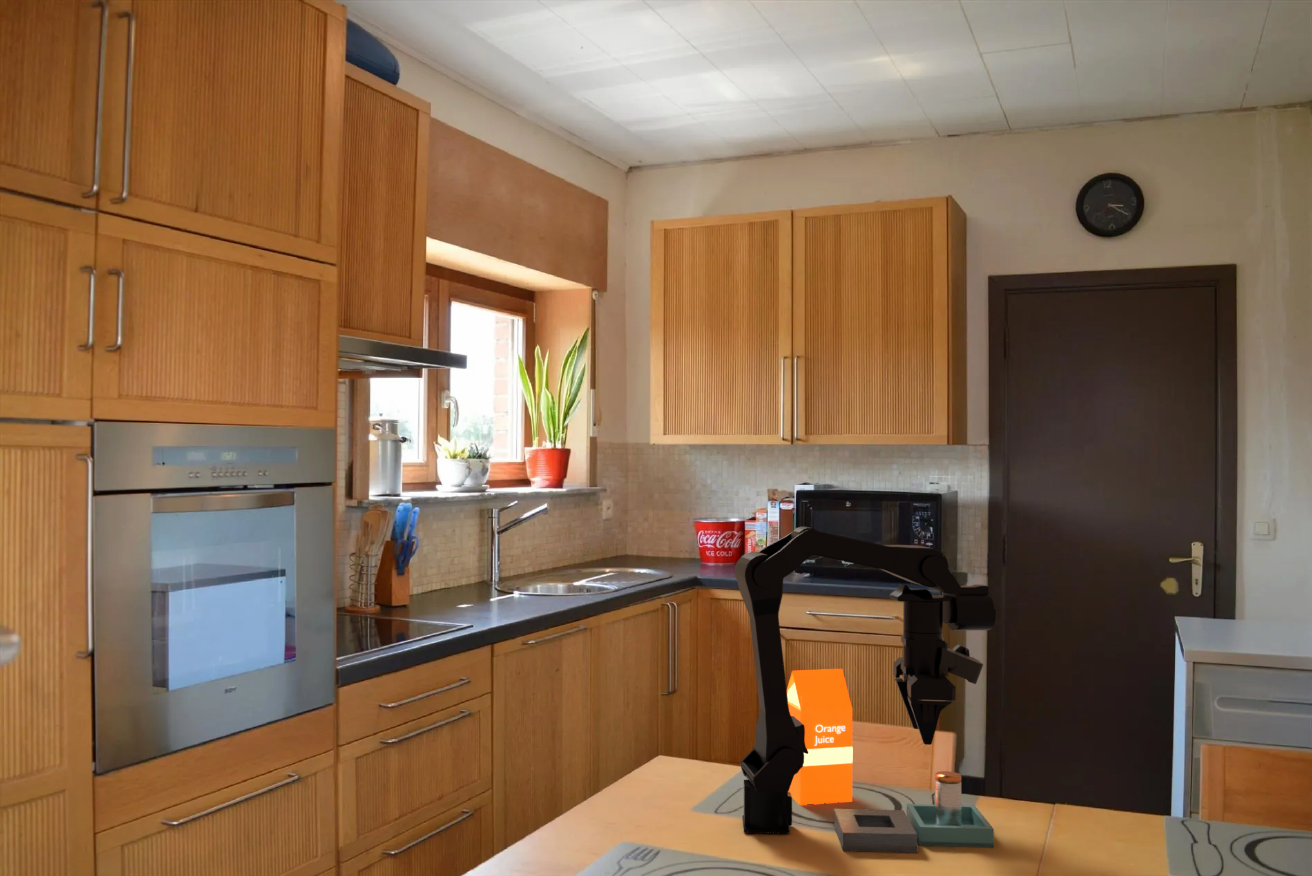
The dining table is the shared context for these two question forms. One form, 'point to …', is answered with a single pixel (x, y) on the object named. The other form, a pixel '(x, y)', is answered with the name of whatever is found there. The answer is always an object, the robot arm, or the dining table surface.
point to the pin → (948, 799)
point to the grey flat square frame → (875, 831)
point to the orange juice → (822, 736)
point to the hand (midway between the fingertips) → (922, 736)
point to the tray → (951, 827)
